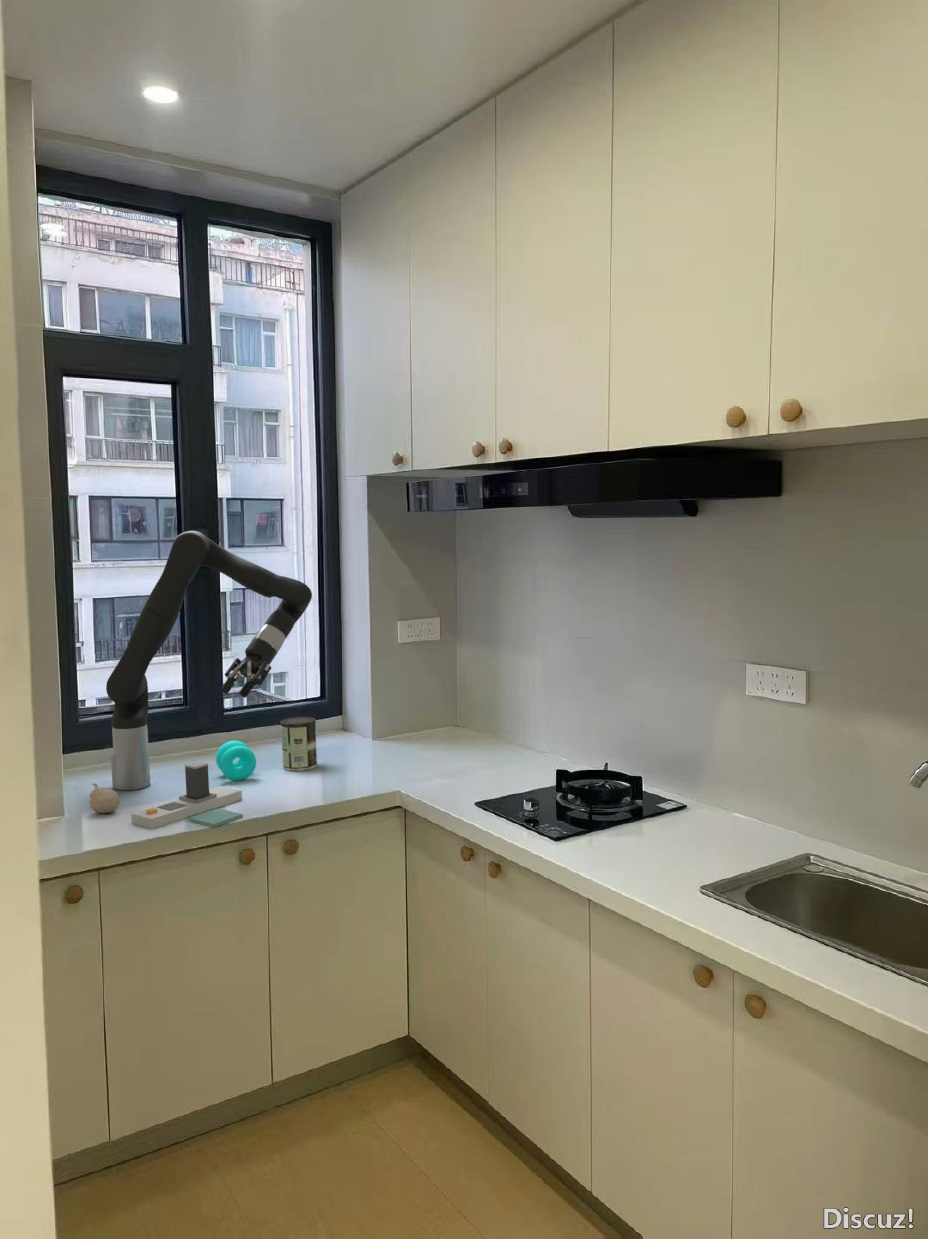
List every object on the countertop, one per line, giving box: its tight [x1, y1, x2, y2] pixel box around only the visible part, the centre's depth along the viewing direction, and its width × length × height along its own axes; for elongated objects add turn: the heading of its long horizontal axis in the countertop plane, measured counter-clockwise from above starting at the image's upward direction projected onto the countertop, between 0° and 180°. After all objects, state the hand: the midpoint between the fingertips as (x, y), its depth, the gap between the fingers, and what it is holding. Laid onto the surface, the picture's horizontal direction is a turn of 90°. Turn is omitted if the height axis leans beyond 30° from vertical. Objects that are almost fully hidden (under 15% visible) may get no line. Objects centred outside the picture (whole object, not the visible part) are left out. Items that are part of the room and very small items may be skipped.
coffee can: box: [280, 716, 318, 772], centre depth 280 cm, size 10×10×14 cm
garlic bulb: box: [89, 782, 121, 814], centre depth 238 cm, size 7×6×8 cm
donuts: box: [215, 740, 257, 782], centre depth 269 cm, size 10×10×10 cm
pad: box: [188, 807, 244, 828], centre depth 232 cm, size 9×9×1 cm
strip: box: [130, 785, 243, 829], centre depth 239 cm, size 28×8×3 cm, turn 145°
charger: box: [184, 761, 210, 800], centre depth 241 cm, size 4×4×9 cm
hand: (232, 694), depth 247 cm, fingers open, 8 cm apart
